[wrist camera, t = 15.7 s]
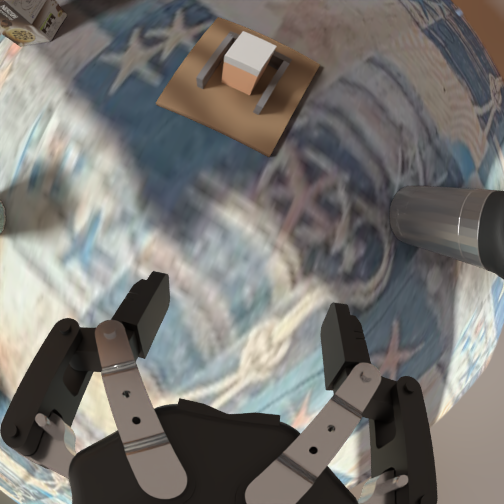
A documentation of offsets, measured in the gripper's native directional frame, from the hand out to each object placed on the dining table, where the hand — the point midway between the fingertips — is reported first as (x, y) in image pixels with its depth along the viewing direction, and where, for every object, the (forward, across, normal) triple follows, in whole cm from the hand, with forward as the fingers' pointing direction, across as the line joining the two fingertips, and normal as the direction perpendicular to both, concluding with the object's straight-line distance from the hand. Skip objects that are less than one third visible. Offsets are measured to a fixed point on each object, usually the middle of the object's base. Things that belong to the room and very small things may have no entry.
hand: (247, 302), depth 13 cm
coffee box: (+25, +42, -24) cm, 55 cm away
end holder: (+27, +6, -12) cm, 30 cm away
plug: (+26, +5, -12) cm, 30 cm away
